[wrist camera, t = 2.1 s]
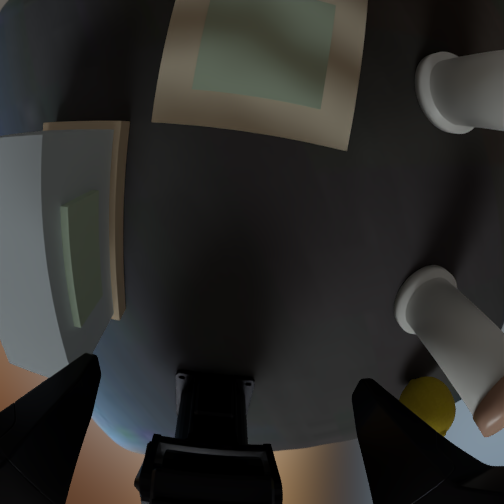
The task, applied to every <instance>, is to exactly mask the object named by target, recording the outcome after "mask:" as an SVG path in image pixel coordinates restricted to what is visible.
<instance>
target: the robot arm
mask: <svg viewBox="0 0 504 504" xmlns="http://www.w3.org/2000/svg"><path fill="white" fill-rule="evenodd" d="M181 375H182V376H181ZM100 379H101V370H100V366H99V361H98V357H97V356H96V355H94V354H90V353H84V354H83V355H81V356H80V357H78V358H77V359H75V360H74V361H72V362H71V363H70V364H68V365H67V366H65V367H64V368H62V369H61V370H60V371H58V372H57V373H55V374H54V375H52V376H51V377H50V378H48V379H47V380H45V381H44V382H42V383H41V384H40V385H38V386H37V387H35V388H34V389H33V390H31V391H30V392H28V393H27V394H25V395H24V396H23V397H21V398H20V399H18V400H17V401H16V402H15V403H13V404H11V405H10V406H9V407H7V408H6V409H4V410H2V411H1V412H0V504H65V503H66V499H67V495H68V491H69V487H70V484H71V480H72V476H73V473H74V469H75V466H76V463H77V459H78V456H79V453H80V450H81V446H82V443H83V440H84V437H85V434H86V431H87V428H88V425H89V422H90V420H91V416H92V413H93V409H94V404H95V400H96V395H97V391H98V387H99V383H100ZM247 382H250V383H247ZM254 385H255V383H254V379H253V378H252V377H245V376H232V375H221V374H211V373H202V372H194V371H186V370H178V371H177V373H176V410H177V416H178V418H177V425H176V432H175V438H172V437H165V436H161V435H160V434H154V435H153V438H152V442H151V441H150V442H149V443H148V444H147V448H146V453H145V458H144V461H143V464H142V466H141V468H140V470H139V472H138V474H137V476H136V478H135V481H134V486H135V487H136V489H137V490H138V491H139V492H140V497H141V503H142V504H282V500H283V494H282V493H283V492H282V483H281V479H280V475H279V472H278V468H277V465H276V461H275V458H274V454H273V450H272V447H271V444H263V445H250V444H248V437H247V420H246V416H247V412H248V408H249V404H250V401H251V397H252V393H253V389H254ZM352 404H353V411H354V418H355V425H356V432H357V437H358V441H359V445H360V449H361V453H362V457H363V461H364V465H365V469H366V473H367V478H368V482H369V486H370V491H371V496H372V500H373V504H504V466H490V465H486V464H484V463H482V462H480V461H479V460H477V459H475V458H474V457H472V456H471V455H469V454H467V453H466V452H464V451H463V450H461V449H460V448H458V447H457V446H455V445H454V444H453V443H451V442H450V441H448V440H447V439H446V438H445V437H443V436H442V435H441V434H440V433H438V432H436V430H434V429H433V428H432V427H431V426H429V425H428V424H427V423H426V422H425V421H423V420H422V419H421V418H420V417H418V416H417V415H416V414H415V413H413V412H412V411H411V410H410V409H408V408H407V407H406V406H405V405H404V404H402V403H401V402H400V401H399V400H397V399H396V398H395V397H394V396H393V395H391V394H390V393H389V392H388V391H387V390H385V389H384V388H383V387H382V386H380V385H379V384H378V383H377V382H376V381H374V380H373V379H371V378H366V379H361V380H360V381H359V383H358V385H357V386H356V388H355V390H354V392H353V394H352Z"/></svg>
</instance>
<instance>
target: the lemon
mask: <svg viewBox="0 0 504 504" xmlns="http://www.w3.org/2000/svg"><path fill="white" fill-rule="evenodd" d="M399 401H400V402H401V403H402V404H404V405H405V406H406V407H407V408H408V409H410V410H411V411H412V412H413V413H415V414H416V415H417V416H418V417H420V418H421V419H422V420H423V421H425V422H426V423H427V424H428V425H429V426H431V427H432V428H433V429H434V430H436V432H438V433H440V434H441V435H442V436H443V437H444V436H445V435H446V431H447V430H448V429H449V428H450V426H451V425H452V423H453V421H454V417H455V410H456V409H455V402H454V399H453V397H452V394H451V392H450V391H449V389H448V388H447V386H446V385H445V384H444V383H443V382H442V381H440V380H438V379H436V378H434V377H420V378H417V379H412V380H410V381H409V384H408V385H407V386H406V387H405V389H404V390H403V392H402V394H401V396H400V399H399Z"/></svg>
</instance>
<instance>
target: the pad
mask: <svg viewBox="0 0 504 504" xmlns="http://www.w3.org/2000/svg"><path fill="white" fill-rule="evenodd" d="M367 4H368V0H176V1H175V5H174V8H173V12H172V16H171V20H170V24H169V28H168V32H167V37H166V41H165V46H164V50H163V55H162V60H161V65H160V71H159V76H158V82H157V88H156V94H155V100H154V107H153V114H152V121H151V122H157V123H172V124H185V125H196V126H206V127H215V128H223V129H231V130H238V131H245V132H252V133H259V134H265V135H271V136H277V137H282V138H288V139H293V140H298V141H303V142H308V143H313V144H317V145H322V146H326V147H331V148H335V149H339V150H344V151H347V148H348V143H349V137H350V132H351V126H352V121H353V115H354V109H355V103H356V96H357V90H358V83H359V76H360V69H361V61H362V53H363V45H364V36H365V27H366V16H367Z"/></svg>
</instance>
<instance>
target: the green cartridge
mask: <svg viewBox="0 0 504 504" xmlns="http://www.w3.org/2000/svg"><path fill="white" fill-rule="evenodd" d="M414 83H415V92H416V96H417V100H418V103H419V105H420V107H421V109H422V111H423V113H424V115H425V116H426V117H427V119H428V120H429V121H430V122H431V123H432V124H433V125H434V126H435V127H437V128H438V129H440V130H442V131H444V132H448V133H455V134H464V133H467V132H469V131H471V130H472V129H473V128H474V127H478V128H486V129H493V130H500V131H504V50H499V51H491V52H484V53H478V54H472V55H466V56H461V57H458V56H456V55H454V54H452V53H449V52H438V53H434V54H430V55H428V56H426V57H424V58H423V59H422V60H421V61H420V63H419V64H418V66H417V69H416V72H415V80H414Z"/></svg>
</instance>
